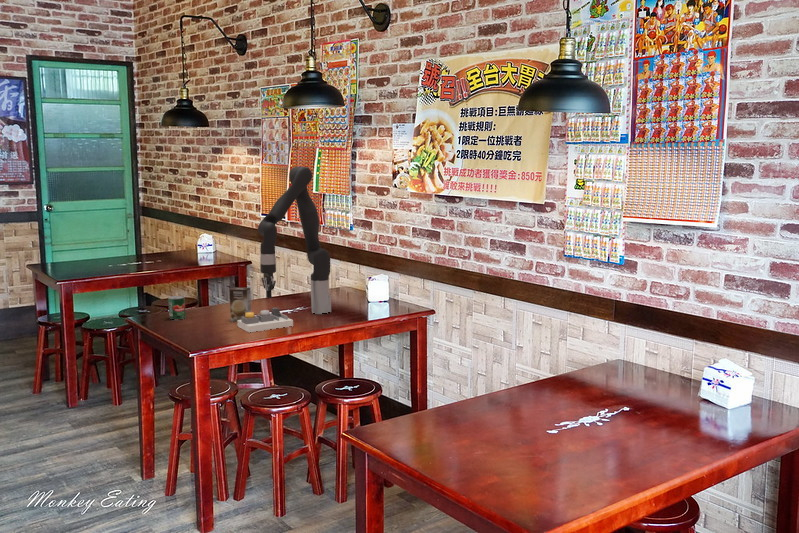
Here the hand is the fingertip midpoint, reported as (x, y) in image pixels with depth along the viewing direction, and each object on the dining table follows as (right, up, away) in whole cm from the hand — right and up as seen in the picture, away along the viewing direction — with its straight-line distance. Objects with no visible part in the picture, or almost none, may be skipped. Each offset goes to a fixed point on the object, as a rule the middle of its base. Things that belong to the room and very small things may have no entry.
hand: (268, 297), depth 364 cm
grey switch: (0, -9, -12) cm, 15 cm away
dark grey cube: (+4, -9, -5) cm, 11 cm away
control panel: (0, -13, -11) cm, 17 cm away
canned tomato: (-47, -11, +8) cm, 49 cm away
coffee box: (-14, -11, +2) cm, 18 cm away
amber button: (-6, -9, -16) cm, 19 cm away
